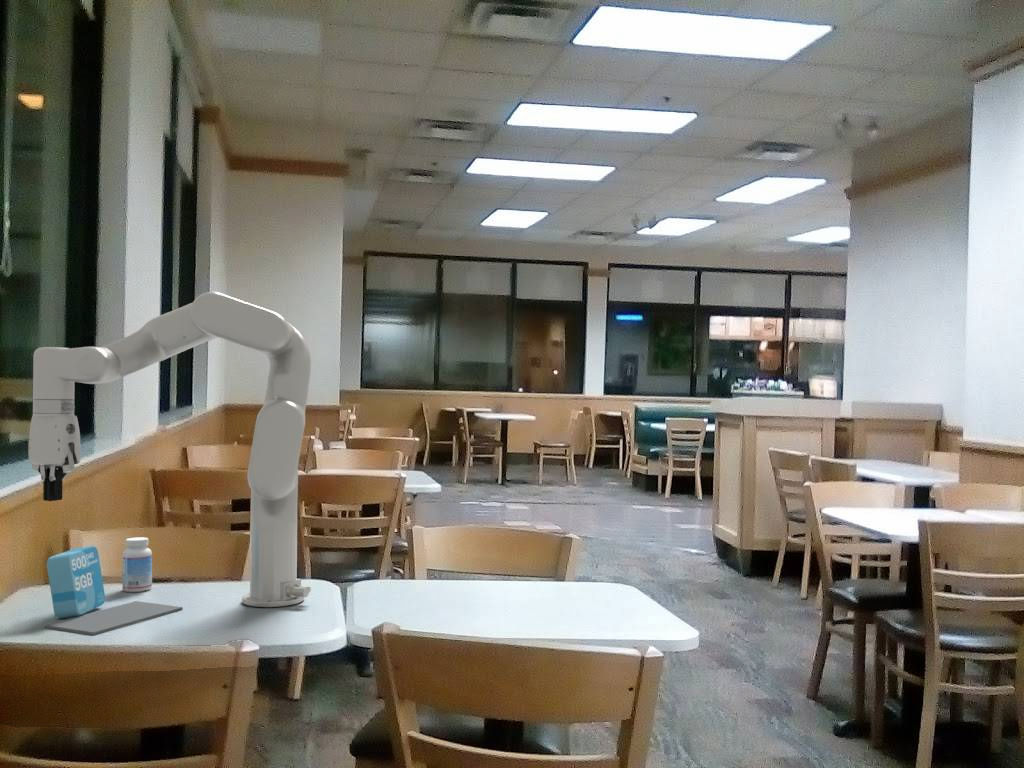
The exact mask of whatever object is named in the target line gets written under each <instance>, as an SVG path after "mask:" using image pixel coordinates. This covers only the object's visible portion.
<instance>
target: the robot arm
mask: <svg viewBox="0 0 1024 768" xmlns="http://www.w3.org/2000/svg"><path fill="white" fill-rule="evenodd" d="M217 338H220V339H223V340H225V341H228V342H231V343H233V344H238V345H239V346H243V347H246V348H249V349H252V350H255V351H257V352H260V353H262V354H264V355H266V356H267V358H268V361H269V370H268V376H267V384H266V385H267V386H266V390H265V397H264V401H263V405H262V407H261V408H260V410H259V412H258V414H257V417H256V419H255V420H256V421H255V425H254V432H253V438H252V442H251V443H252V445H251V448H250V449H251V450H250V455H249V462H248V468H247V476H246V477H247V483H248V486H249V488H250V518H249V520H250V521H249V522H250V527H249V529H250V530H249V538H250V539H249V542H250V544H249V593H248V592H247V593H246V594H244V595H242V597H241V602H242V603H243V605H245V606H249V607H255V608H280V607H287V606H293V605H296V604H299V603H301V602H303V601H304V600H305V598H307V597H309V595H310V593H311V590H312V588H311V587H310V586H306V585H302V579H301V578H297V577H298V570H297V569H298V497H299V496H298V493H299V492H298V490H299V488H298V487H299V470H298V467H299V463H300V462H299V461H300V457H301V456H300V455H301V450H302V445H303V444H302V443H303V436H304V431H305V427H306V408H307V401H308V395H309V388H310V387H309V386H310V379H311V378H310V377H311V371H312V370H311V369H312V360H311V358H312V357H311V353H310V349H309V346H308V344H307V341H306V340H305V338H304V336H303V335H302V334H301V333H300V331H299V330H298V329H297V328H296V327H294V325H292V324H291V323H290V322H288V321H287V320H286V318H284V317H283V316H282V315H281V314H279V313H278V312H275V311H273V310H269V309H266V308H264V307H260V306H258V305H255V304H251V303H249V302H246V301H243V300H240V299H237V298H235V297H231V296H229V295H227V294H224V293H222V292H219V291H206V292H203V293H201V294H200V295H198V296H197V297H196V298H195V299H194V300H193V302H191V303H187V304H186V305H183V306H182V307H178V308H176V309H173V310H171V311H168V312H165V313H163V314H160V315H158V316H155V317H153V318H151V319H150V320H148V321H147V322H146V323H144V325H142V327H141V328H140V329H138V330H137V331H135V332H133V333H132V334H130V335H127V336H125V337H123V338H120V339H119V340H116V341H113V342H111V343H109V344H106V345H104V346H103V345H102V346H82V347H72V348H71V347H60V346H44V347H43V346H42V347H41V346H40V347H38V348H36V349H35V351H34V352H33V363H32V364H33V367H32V369H33V370H32V372H33V373H32V375H33V376H32V377H33V378H32V382H33V383H32V386H33V387H32V393H33V395H32V415H31V416H32V417H31V420H30V427H29V433H28V434H29V435H28V449H27V450H28V461H29V462H30V463H31V468H32V470H34V471H36V472H38V473H39V474H40V480H41V481H43V482H42V483H43V485H42V486H43V487H42V490H43V491H42V496H43V497H42V500H43V501H45V502H46V501H47V502H55V501H61V500H63V481H65V479H66V475H67V474H68V473H71V472H75V469H76V468H75V467H76V466H75V465H78V464H80V462H81V460H82V459H81V458H82V456H81V455H82V450H81V449H82V448H81V447H82V446H81V433H80V426H79V425H80V424H79V421H78V417H77V415H75V408H76V406H75V386H76V385H75V383H79V384H80V383H82V384H87V385H88V384H89V385H99V384H101V385H105V384H108V383H109V384H110V383H111V382H115V381H117V380H119V379H121V378H124V377H126V376H128V375H131V374H133V373H136V372H139V371H140V370H143V369H145V368H147V367H150V366H152V365H154V364H157V363H159V362H160V363H161V362H162V361H165V360H167V359H169V358H171V357H174V356H176V355H178V354H181V353H182V352H186V351H187V350H189V349H193V348H195V347H197V346H200V345H202V344H204V343H208V342H210V341H212V340H214V339H217Z"/></svg>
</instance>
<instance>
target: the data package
mask: <svg viewBox="0 0 1024 768" xmlns="http://www.w3.org/2000/svg"><path fill="white" fill-rule="evenodd" d="M46 568H47V569H46V570H47V575H48V576H47V577H48V582H49V587H50V588H49V589H50V595H51V600H52V607H53V613H54V616H55V618H57V619H65V618H66V619H68V618H73V617H77V616H81V615H85V614H87V613H89V612H91V611H92V610H94V609H97V608H99V607H101V606H103V605H104V603H105V601H106V594H105V588H104V582H103V580H104V579H103V575H102V569H101V561H100V556H99V551H98V548H97V547H96V546H94V545H92V546H91V545H90V546H86V547H85V546H83V547H77V548H73V549H69V550H67V551H64V552H63V551H62V552H60V553H57V554H55V555H53V556H50V557H48V558H47V561H46Z"/></svg>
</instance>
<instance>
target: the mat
mask: <svg viewBox="0 0 1024 768" xmlns="http://www.w3.org/2000/svg"><path fill="white" fill-rule="evenodd" d="M179 611H183V606H175V605H169V604H163V603H162V604H161V603H152V602H146V601H139V600H136V601H131V602H128V603H124V604H120V605H116V606H111V607H108V608H104V609H101V610H97V611H92V612H90V613H89V612H87V613H84V614H82V615H79V616H73V617H68V618H66V619H65V618H64V619H63V620H57V621H53V622H50V623H47V624H44V628H45V629H51V630H59V631H64V632H71V633H78V634H84V635H91V636H96V635H100V634H102V633H106V632H109V631H113V630H115V629H116V630H117V629H121V628H123V627H124V628H125V627H127V626H130V625H134V624H138V623H141V622H144V621H148V620H151V619H155V618H159V617H163V616H166V615H169V614H172V613H176V612H179Z"/></svg>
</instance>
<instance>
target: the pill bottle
mask: <svg viewBox="0 0 1024 768" xmlns="http://www.w3.org/2000/svg"><path fill="white" fill-rule="evenodd" d="M148 546H149V538H148V537H144V536H143V537H142V536H141V537H140V536H139V537H137V536H136V537H129V538H126V539H125V547H126V549H124V550H123V552H122V559H121V561H122V563H121V564H122V567H121V568H122V571H121V572H122V573H121V575H122V582H121V583H122V587H121V588H122V591H123V592H126V593H142V592H146V591H149V590H151V589H152V587H153V553H152V550H151V549H150V548H149V547H148ZM150 588H151V589H150ZM145 590H146V591H145Z"/></svg>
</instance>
